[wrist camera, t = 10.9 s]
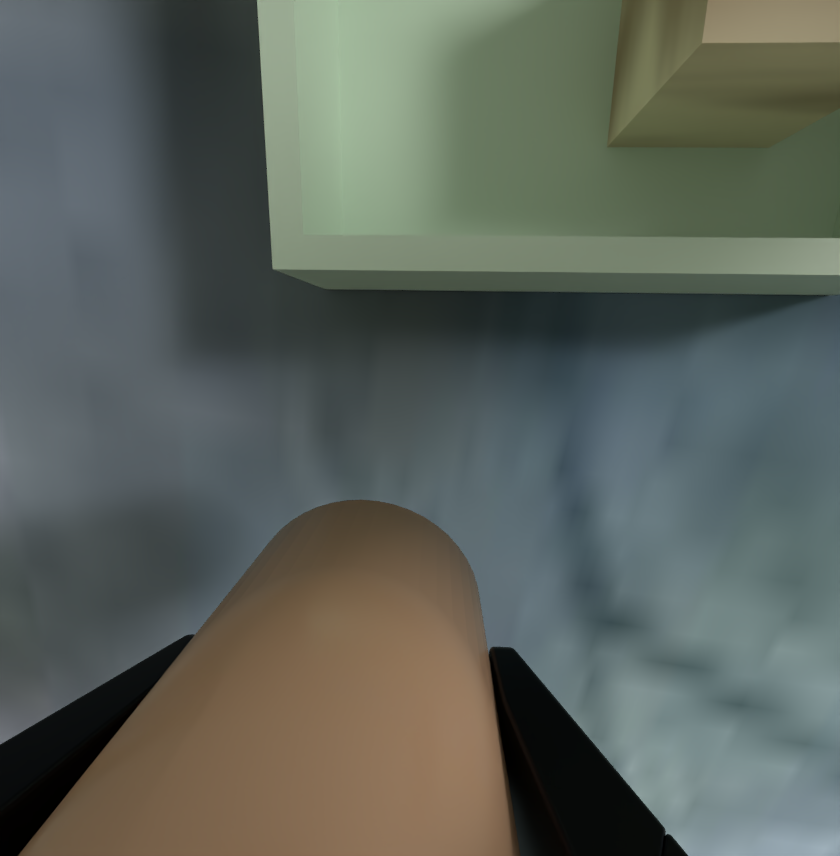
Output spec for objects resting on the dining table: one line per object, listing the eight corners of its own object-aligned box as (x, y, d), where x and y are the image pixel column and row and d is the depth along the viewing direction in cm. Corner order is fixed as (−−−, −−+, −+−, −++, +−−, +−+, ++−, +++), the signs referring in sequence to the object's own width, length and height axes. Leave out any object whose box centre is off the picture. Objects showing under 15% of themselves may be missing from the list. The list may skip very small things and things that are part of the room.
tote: (944, -223, 12) (1308, -622, 7) (831, 295, 15) (1026, 277, 10) (309, -203, 12) (225, -553, 7) (325, 289, 15) (273, 269, 10)
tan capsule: (485, 503, 9) (667, 1147, 2) (474, 708, 10) (561, 1585, 3) (243, 496, 9) (-424, 1059, 2) (259, 698, 10) (-134, 1507, 3)
